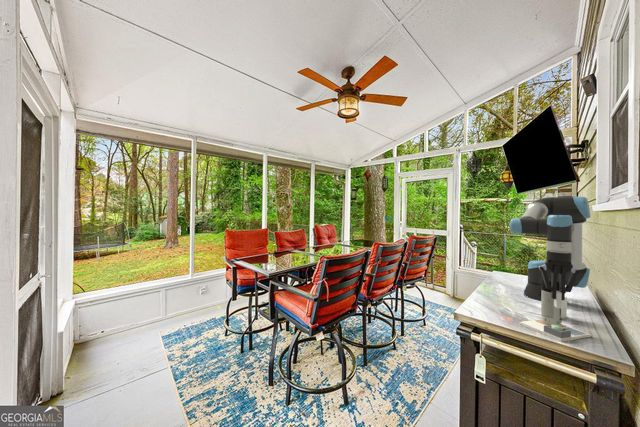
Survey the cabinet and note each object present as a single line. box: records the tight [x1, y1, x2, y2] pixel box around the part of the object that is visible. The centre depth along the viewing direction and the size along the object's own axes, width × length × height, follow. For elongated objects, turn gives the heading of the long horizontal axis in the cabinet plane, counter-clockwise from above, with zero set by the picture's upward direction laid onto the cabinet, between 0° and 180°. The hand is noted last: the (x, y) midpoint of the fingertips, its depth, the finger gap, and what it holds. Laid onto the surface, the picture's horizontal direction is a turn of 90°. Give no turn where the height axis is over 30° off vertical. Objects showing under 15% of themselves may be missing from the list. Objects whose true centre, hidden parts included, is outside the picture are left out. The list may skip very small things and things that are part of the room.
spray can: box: [540, 279, 562, 326], centre depth 112 cm, size 7×7×20 cm
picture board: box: [518, 318, 592, 342], centre depth 108 cm, size 18×16×4 cm
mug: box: [561, 295, 568, 320], centre depth 124 cm, size 9×12×11 cm
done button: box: [551, 324, 563, 331], centre depth 102 cm, size 4×4×3 cm
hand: (557, 307), depth 102 cm, fingers closed
